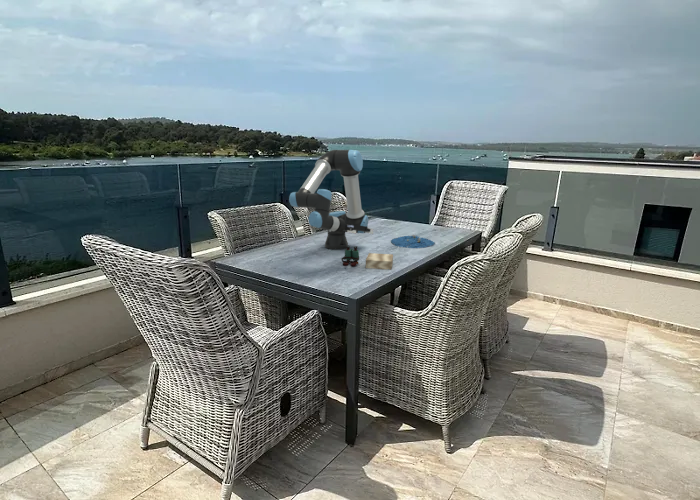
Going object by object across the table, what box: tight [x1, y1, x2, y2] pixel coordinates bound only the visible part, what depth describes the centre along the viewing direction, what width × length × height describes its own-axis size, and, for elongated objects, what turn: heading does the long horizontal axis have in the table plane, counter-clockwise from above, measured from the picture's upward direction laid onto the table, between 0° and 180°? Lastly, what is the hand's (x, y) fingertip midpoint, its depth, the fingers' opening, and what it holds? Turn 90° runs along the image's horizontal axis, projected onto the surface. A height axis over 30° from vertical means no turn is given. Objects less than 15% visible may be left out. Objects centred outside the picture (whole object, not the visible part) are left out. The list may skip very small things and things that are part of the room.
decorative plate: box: [390, 234, 435, 249], centre depth 260 cm, size 30×30×5 cm
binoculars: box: [341, 244, 360, 268], centre depth 209 cm, size 9×11×10 cm
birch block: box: [365, 252, 394, 271], centre depth 210 cm, size 14×14×5 cm
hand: (364, 231), depth 210 cm, fingers open, 13 cm apart
